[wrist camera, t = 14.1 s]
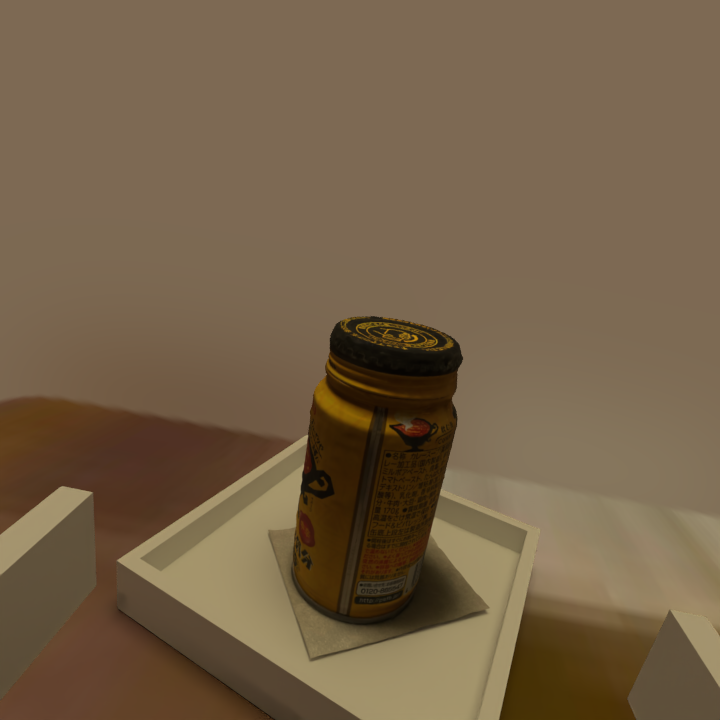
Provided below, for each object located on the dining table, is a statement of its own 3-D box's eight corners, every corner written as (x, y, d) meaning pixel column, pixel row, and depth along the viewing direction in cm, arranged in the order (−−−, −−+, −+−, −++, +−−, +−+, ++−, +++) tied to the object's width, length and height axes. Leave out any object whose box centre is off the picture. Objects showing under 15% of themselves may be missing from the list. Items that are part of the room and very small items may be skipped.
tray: (528, 566, 26) (540, 529, 25) (461, 851, 14) (481, 797, 13) (302, 467, 32) (306, 434, 31) (117, 608, 20) (116, 560, 19)
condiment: (267, 533, 24) (292, 303, 20) (411, 512, 27) (456, 313, 24) (309, 663, 18) (358, 367, 14) (488, 614, 21) (567, 367, 17)
